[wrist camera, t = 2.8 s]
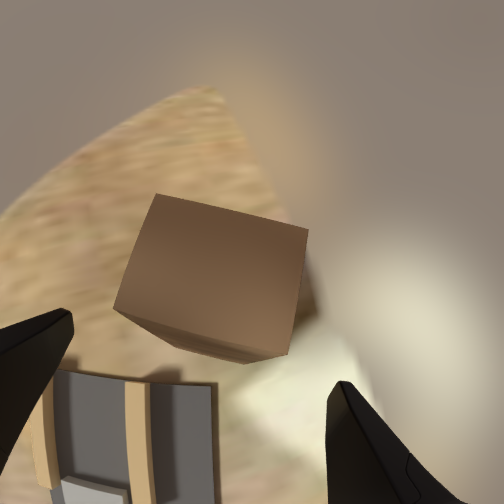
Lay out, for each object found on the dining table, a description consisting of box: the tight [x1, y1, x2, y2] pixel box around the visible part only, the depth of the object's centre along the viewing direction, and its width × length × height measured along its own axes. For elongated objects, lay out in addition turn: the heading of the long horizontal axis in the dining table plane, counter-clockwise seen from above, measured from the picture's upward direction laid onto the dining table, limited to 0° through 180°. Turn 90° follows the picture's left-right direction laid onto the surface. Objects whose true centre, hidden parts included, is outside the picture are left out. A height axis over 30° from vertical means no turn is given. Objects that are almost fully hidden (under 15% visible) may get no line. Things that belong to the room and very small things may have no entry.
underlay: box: [30, 369, 215, 504], centre depth 13 cm, size 14×12×2 cm
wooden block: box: [113, 193, 308, 364], centre depth 13 cm, size 4×4×12 cm
